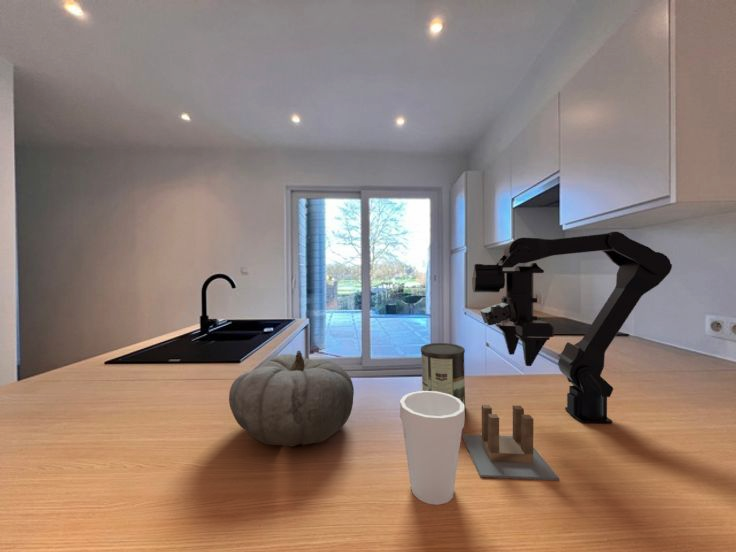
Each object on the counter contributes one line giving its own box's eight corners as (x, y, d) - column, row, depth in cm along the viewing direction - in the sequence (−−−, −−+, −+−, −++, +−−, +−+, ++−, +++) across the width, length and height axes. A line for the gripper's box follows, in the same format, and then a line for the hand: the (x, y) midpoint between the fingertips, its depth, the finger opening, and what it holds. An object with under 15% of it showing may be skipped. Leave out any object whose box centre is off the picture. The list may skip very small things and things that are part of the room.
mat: (524, 438, 60) (524, 436, 60) (558, 480, 48) (558, 477, 48) (462, 436, 60) (462, 434, 60) (480, 477, 48) (480, 474, 48)
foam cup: (396, 470, 50) (395, 391, 50) (450, 466, 51) (450, 389, 51) (408, 516, 41) (408, 419, 41) (475, 511, 42) (475, 416, 41)
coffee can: (454, 394, 80) (453, 341, 80) (473, 413, 70) (472, 352, 69) (416, 398, 79) (415, 344, 78) (430, 418, 68) (429, 355, 68)
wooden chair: (490, 461, 52) (490, 417, 52) (481, 444, 57) (481, 404, 57) (533, 463, 51) (533, 418, 51) (520, 446, 56) (520, 405, 56)
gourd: (208, 467, 47) (224, 352, 50) (233, 420, 71) (243, 343, 74) (365, 459, 53) (370, 356, 56) (340, 418, 77) (345, 347, 80)
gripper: (473, 290, 81) (472, 349, 81) (498, 296, 62) (498, 372, 62) (516, 290, 80) (516, 349, 80) (555, 296, 61) (554, 373, 62)
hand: (519, 359), depth 71 cm, fingers open, 9 cm apart
